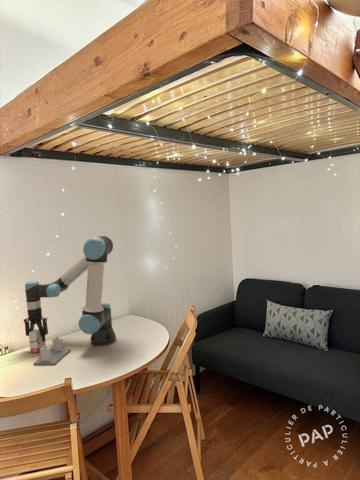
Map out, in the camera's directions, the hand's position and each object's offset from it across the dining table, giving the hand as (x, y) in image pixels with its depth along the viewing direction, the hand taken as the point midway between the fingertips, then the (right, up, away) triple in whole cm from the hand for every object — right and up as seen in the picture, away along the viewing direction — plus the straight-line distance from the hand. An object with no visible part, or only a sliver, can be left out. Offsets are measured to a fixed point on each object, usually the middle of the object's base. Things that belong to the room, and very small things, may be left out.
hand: (38, 346), depth 193 cm
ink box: (0, -2, 0) cm, 2 cm away
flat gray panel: (+13, -2, -13) cm, 19 cm away
